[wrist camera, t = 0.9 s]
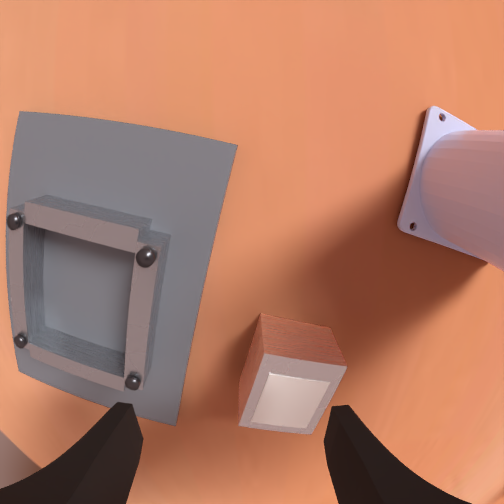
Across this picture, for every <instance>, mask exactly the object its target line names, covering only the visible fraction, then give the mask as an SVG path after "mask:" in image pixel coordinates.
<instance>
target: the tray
mask: <svg viewBox="0 0 504 504" xmlns="http://www.w3.org/2000/svg"><path fill="white" fill-rule="evenodd" d="M237 146H238V145H235V144H231V143H226V142H222V141H218V140H213V139H209V138H204V137H199V136H195V135H190V134H185V133H180V132H175V131H170V130H164V129H159V128H153V127H148V126H142V125H136V124H129V123H123V122H116V121H109V120H102V119H95V118H87V117H78V116H70V115H60V114H49V113H37V112H23V111H20V112H19V117H18V122H17V127H16V133H15V139H14V145H13V151H12V159H11V166H10V175H9V186H8V198H7V216H6V270H7V288H8V300H9V310H10V319H11V327H12V334H13V341H14V347H15V353H16V359H17V364H18V369H19V371H20V372H22V373H24V374H26V375H28V376H30V377H32V378H35V379H37V380H39V381H41V382H44V383H46V384H48V385H50V386H53V387H55V388H58V389H60V390H63V391H65V392H68V393H70V394H73V395H75V396H78V397H81V398H83V399H86V400H89V401H92V402H94V403H97V404H100V405H103V406H106V407H109V408H112V406H113V405H114V404H115V403H117V402H123V403H131V404H133V408H134V411H135V414H136V416H139V417H142V418H146V419H149V420H153V421H157V422H161V423H165V424H169V425H173V426H176V423H177V418H178V413H179V407H180V402H181V396H182V391H183V385H184V380H185V375H186V370H187V365H188V360H189V354H190V349H191V344H192V340H193V335H194V330H195V325H196V320H197V315H198V311H199V306H200V301H201V297H202V292H203V288H204V283H205V278H206V274H207V269H208V265H209V261H210V256H211V252H212V248H213V243H214V239H215V235H216V230H217V226H218V222H219V218H220V214H221V210H222V205H223V201H224V197H225V193H226V189H227V185H228V181H229V177H230V173H231V169H232V165H233V161H234V158H235V154H236V150H237Z"/></svg>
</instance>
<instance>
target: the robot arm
mask: <svg viewBox="0 0 504 504" xmlns="http://www.w3.org/2000/svg"><path fill="white" fill-rule="evenodd" d="M439 114H440V115H441V116H442V121H441V120H440V119H439ZM411 223H414V227H413V228H412V229H410V224H411ZM397 226H398V228H399V230H401V231H403V232H405V233H408V234H411V235H414V236H417V237H420V238H423V239H426V240H429V241H432V242H434V243H437V244H440V245H443V246H446V247H449V248H452V249H454V250H457V251H460V252H463V253H465V254H468V255H471V256H474V257H476V258H479V259H482V260H484V261H486V262H488V263H490V264H492V265H494V266H495V267H497V268H499V269H501V270H502V271H504V130H477V129H475V128H473V127H472V126H470V125H469V124H467V123H465V122H463V121H462V120H460V119H458V118H457V117H455V116H453V115H451V114H450V113H448V112H446V111H444V110H442V109H440V108H439V107H437V106H431V107H429V108H428V109H427V111H426V116H425V121H424V125H423V130H422V134H421V139H420V143H419V147H418V151H417V155H416V159H415V163H414V167H413V170H412V174H411V178H410V181H409V185H408V188H407V192H406V195H405V198H404V202H403V205H402V208H401V212H400V215H399V218H398V221H397ZM142 443H143V436H142V433H141V430H140V427H139V424H138V421H137V418H136V414H135V411H134V408H133V404H131V403H123V402H117V403H115V404H114V405H113V406H112V408H111V409H110V410H109V411H108V412H107V413H106V414H105V415H104V416H103V417H102V418H101V419H100V420H99V421H98V422H97V423H96V424H95V425H94V426H93V427H92V428H91V429H90V430H89V431H88V432H87V433H86V434H85V435H84V436H83V437H82V438H81V439H80V440H79V441H78V442H76V443H75V444H74V445H73V446H72V447H71V448H70V449H68V450H67V451H66V452H65V453H64V454H62V455H61V456H60V457H59V458H57V459H56V460H55V461H53V462H52V463H50V464H49V465H47V466H46V467H44V468H43V469H41V470H39V471H38V472H36V473H34V474H33V475H31V476H29V477H27V478H25V479H23V480H21V481H19V482H17V483H14V484H12V485H9V486H7V487H4V488H1V489H0V504H126V501H127V498H128V495H129V492H130V489H131V486H132V482H133V479H134V476H135V473H136V470H137V467H138V463H139V460H140V454H141V449H142ZM324 446H325V454H326V460H327V465H328V469H329V472H330V476H331V479H332V483H333V486H334V489H335V493H336V496H337V500H338V503H339V504H471V503H469V502H466V501H463V500H461V499H459V498H456V497H454V496H452V495H450V494H448V493H446V492H444V491H442V490H440V489H439V488H437V487H435V486H434V485H432V484H430V483H428V482H427V481H425V480H424V479H422V478H421V477H420V476H418V475H417V474H415V473H414V472H413V471H411V470H410V469H409V468H408V467H406V466H405V465H404V464H403V463H402V462H400V461H399V460H398V459H397V458H396V457H395V456H394V455H393V454H392V453H391V452H390V451H389V450H388V449H387V448H386V447H385V446H384V445H383V444H382V443H381V442H380V441H379V440H378V439H377V438H376V437H375V436H374V435H373V434H372V433H371V431H370V430H369V429H368V428H367V427H366V426H365V424H364V423H363V422H362V421H361V420H360V418H359V417H358V416H357V415H356V413H355V412H354V411H353V410H352V408H351V407H350V406H349V405H342V406H332V408H331V413H330V417H329V421H328V426H327V430H326V434H325V438H324Z"/></svg>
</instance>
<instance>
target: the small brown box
mask: <svg viewBox="0 0 504 504" xmlns="http://www.w3.org/2000/svg"><path fill="white" fill-rule="evenodd" d="M347 367H348V366H347V364H346V362H345V359H344V357H343V355H342V353H341V351H340V348H339V346H338V344H337V342H336V339H335V337H334V335H333V333H332V331H331V329H330V327H326V326H321V325H315V324H310V323H305V322H300V321H295V320H290V319H285V318H280V317H275V316H271V315H266V314H261V313H260V317H259V320H258V323H257V326H256V330H255V333H254V336H253V339H252V342H251V346H250V349H249V352H248V355H247V358H246V361H245V365H244V368H243V371H242V374H241V377H240V380H239V414H238V426H243V427H249V428H256V429H263V430H271V431H280V432H289V433H299V434H312V432H313V431H314V429H315V427H316V425H317V424H318V422H319V420H320V418H321V417H322V415H323V413H324V411H325V409H326V408H327V406H328V404H329V402H330V400H331V398H332V396H333V395H334V393H335V391H336V389H337V387H338V385H339V383H340V381H341V379H342V377H343V375H344V373H345V371H346V369H347Z"/></svg>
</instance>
